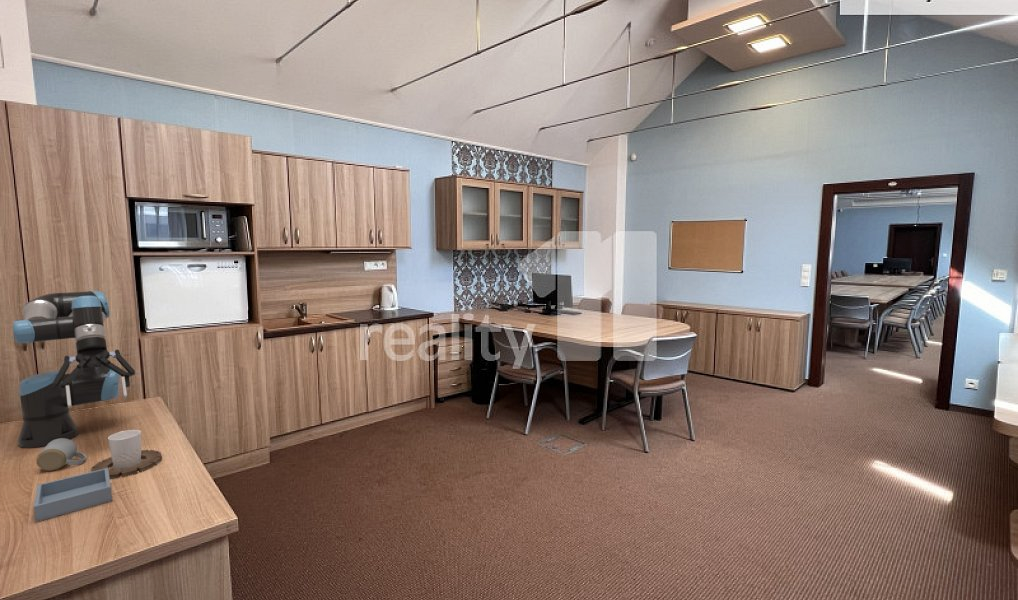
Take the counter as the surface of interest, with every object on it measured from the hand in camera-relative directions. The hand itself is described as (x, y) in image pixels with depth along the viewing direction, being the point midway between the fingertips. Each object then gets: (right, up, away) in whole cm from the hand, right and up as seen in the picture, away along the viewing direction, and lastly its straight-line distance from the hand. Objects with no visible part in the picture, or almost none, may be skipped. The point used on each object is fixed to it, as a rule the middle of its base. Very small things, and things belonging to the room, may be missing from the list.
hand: (98, 401), depth 153 cm
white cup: (+13, -19, -5) cm, 24 cm away
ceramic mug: (-7, -19, -4) cm, 21 cm away
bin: (+15, -21, -25) cm, 36 cm away
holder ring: (+13, -19, -5) cm, 23 cm away
